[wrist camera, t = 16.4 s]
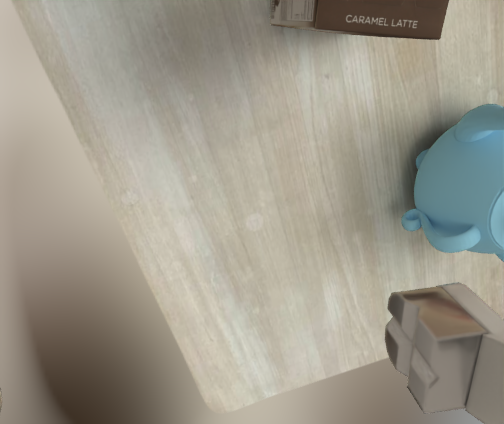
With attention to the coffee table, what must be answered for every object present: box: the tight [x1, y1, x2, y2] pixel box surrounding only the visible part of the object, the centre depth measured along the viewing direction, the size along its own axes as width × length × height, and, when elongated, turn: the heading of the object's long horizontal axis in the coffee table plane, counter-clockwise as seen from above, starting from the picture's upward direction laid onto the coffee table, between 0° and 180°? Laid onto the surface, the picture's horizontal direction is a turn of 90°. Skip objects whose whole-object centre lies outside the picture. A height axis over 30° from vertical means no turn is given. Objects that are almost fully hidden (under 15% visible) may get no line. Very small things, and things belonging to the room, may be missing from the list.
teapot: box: [402, 104, 504, 262], centre depth 45 cm, size 16×20×14 cm
